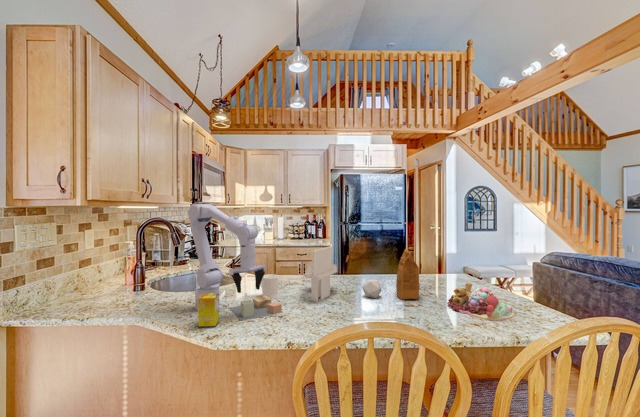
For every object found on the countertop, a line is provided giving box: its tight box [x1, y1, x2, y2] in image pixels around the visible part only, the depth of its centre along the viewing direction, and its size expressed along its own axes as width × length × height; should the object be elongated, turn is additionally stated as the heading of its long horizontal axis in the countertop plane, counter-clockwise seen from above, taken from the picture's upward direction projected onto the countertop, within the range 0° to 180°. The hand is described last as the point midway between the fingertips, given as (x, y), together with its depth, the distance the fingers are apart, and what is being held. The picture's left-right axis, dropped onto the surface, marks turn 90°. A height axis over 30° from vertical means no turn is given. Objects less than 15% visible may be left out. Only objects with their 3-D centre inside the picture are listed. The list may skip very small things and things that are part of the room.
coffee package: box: [395, 248, 421, 301], centre depth 147 cm, size 10×12×22 cm
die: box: [361, 279, 382, 299], centre depth 147 cm, size 8×9×10 cm
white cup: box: [261, 273, 279, 300], centre depth 146 cm, size 8×8×10 cm
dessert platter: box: [446, 282, 515, 321], centre depth 131 cm, size 25×24×9 cm
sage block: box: [240, 299, 254, 317], centre depth 123 cm, size 4×4×5 cm
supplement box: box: [197, 292, 220, 329], centre depth 113 cm, size 6×6×11 cm
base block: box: [252, 295, 272, 309], centre depth 134 cm, size 6×6×3 cm
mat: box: [228, 305, 283, 322], centre depth 128 cm, size 17×17×1 cm
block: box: [267, 301, 282, 315], centre depth 126 cm, size 4×4×3 cm
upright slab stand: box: [304, 243, 338, 303], centre depth 150 cm, size 28×21×23 cm
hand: (248, 290), depth 123 cm, fingers open, 7 cm apart
